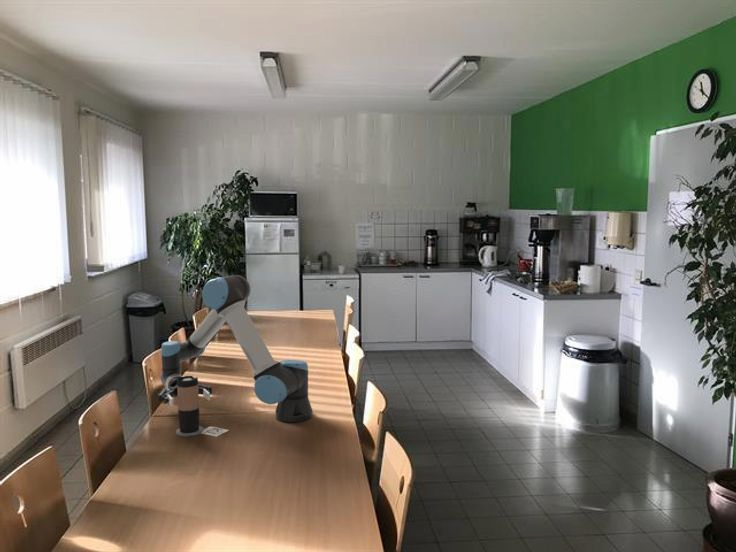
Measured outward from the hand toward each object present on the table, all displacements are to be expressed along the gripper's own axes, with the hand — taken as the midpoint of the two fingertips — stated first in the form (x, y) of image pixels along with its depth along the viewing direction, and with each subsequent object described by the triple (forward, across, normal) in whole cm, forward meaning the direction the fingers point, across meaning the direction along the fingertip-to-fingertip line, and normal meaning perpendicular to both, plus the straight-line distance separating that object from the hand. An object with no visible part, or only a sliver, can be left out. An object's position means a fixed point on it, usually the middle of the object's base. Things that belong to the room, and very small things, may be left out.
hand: (190, 399), depth 220 cm
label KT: (+2, -8, -13) cm, 15 cm away
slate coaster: (-3, 0, -13) cm, 14 cm away
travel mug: (-3, 0, -13) cm, 13 cm away
